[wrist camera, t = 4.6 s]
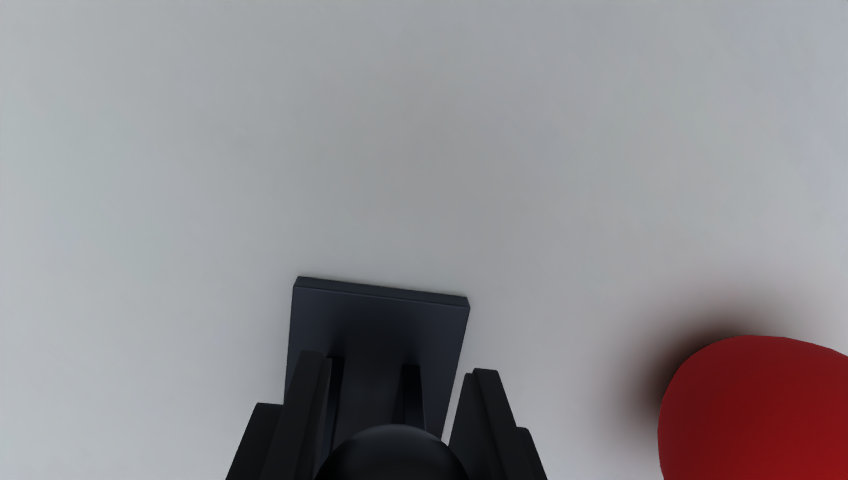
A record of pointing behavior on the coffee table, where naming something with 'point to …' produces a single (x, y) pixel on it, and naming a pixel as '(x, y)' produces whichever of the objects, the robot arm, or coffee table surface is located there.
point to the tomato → (756, 412)
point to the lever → (392, 456)
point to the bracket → (378, 353)
